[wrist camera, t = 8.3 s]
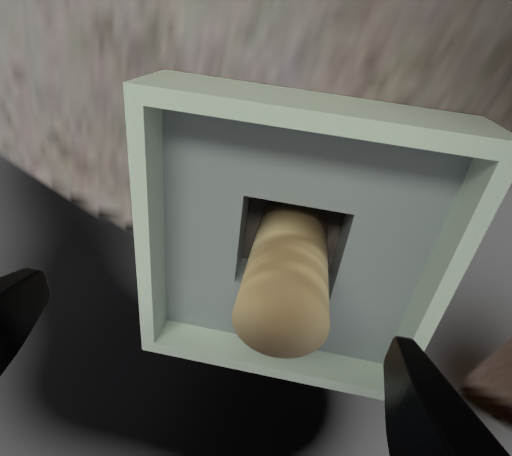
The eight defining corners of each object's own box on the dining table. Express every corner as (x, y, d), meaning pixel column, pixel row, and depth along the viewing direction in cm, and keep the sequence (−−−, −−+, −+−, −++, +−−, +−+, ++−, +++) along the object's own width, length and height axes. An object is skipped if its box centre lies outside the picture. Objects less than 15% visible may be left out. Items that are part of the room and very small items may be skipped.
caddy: (483, 116, 17) (531, 144, 13) (385, 344, 25) (397, 403, 21) (165, 69, 18) (122, 82, 14) (168, 301, 26) (142, 349, 22)
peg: (333, 203, 20) (340, 296, 13) (319, 261, 22) (318, 366, 15) (264, 192, 21) (235, 276, 14) (256, 249, 23) (228, 348, 16)
